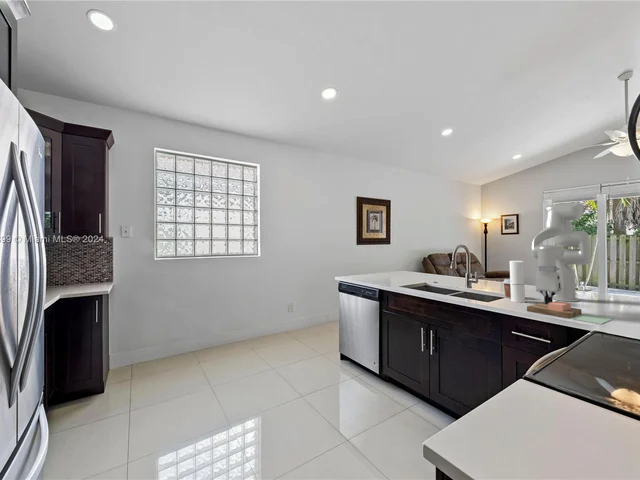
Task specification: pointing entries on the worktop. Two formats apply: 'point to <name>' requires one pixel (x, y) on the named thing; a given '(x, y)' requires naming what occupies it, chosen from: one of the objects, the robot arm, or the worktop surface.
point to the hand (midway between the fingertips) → (548, 303)
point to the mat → (592, 318)
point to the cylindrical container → (517, 281)
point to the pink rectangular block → (559, 305)
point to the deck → (553, 311)
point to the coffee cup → (507, 288)
